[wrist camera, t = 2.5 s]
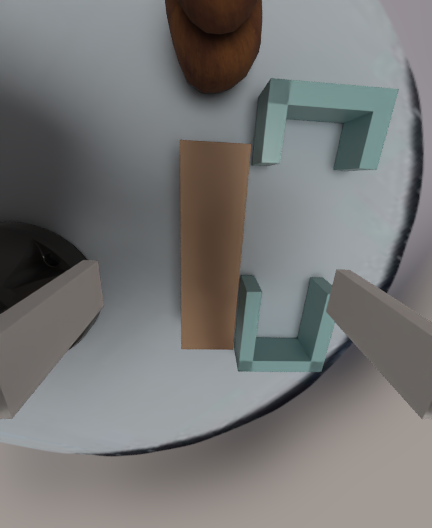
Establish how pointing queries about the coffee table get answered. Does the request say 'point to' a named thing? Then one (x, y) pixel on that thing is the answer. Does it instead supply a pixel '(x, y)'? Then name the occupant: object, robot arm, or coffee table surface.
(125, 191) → the coffee table surface
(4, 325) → the robot arm
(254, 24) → the wooden figurine
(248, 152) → the slat
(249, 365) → the endcaps
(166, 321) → the coffee table surface
